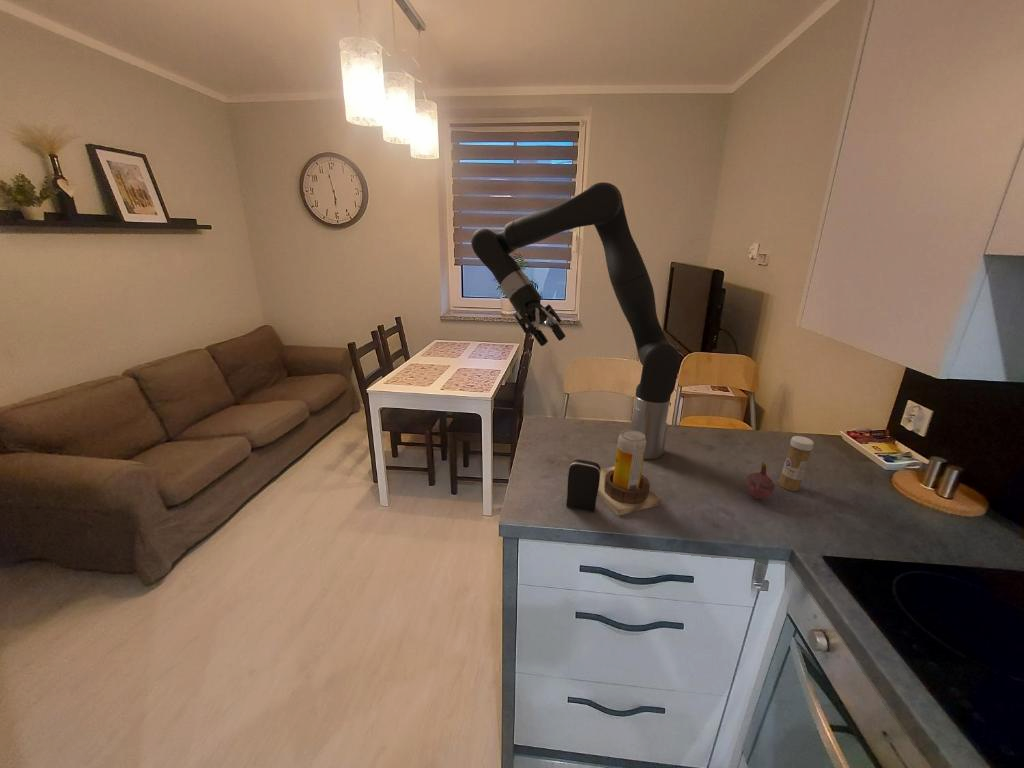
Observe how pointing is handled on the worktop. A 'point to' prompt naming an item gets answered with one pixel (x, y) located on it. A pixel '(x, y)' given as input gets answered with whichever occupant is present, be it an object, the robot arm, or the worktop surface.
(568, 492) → the battery charger
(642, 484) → the collar board
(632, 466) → the beer can
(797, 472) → the sprinkles bottle
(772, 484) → the vegetable
